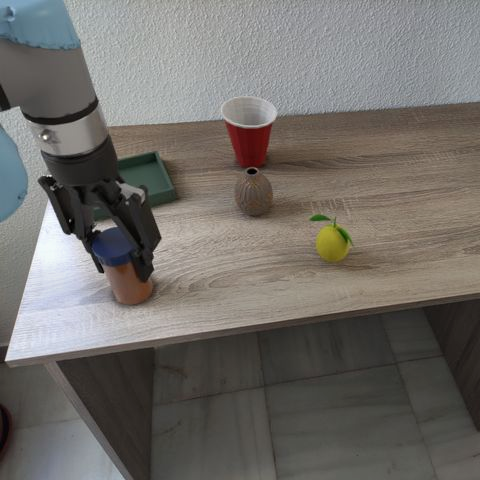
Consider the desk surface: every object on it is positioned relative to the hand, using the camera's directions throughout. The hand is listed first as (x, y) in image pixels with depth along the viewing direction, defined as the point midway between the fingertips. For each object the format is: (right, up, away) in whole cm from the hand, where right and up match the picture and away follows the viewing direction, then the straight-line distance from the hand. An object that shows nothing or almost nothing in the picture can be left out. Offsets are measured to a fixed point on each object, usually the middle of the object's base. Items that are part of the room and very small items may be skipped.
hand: (126, 271), depth 70 cm
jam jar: (0, -3, +3) cm, 5 cm away
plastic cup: (+15, +21, +28) cm, 38 cm away
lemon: (+31, +1, +10) cm, 32 cm away
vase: (+17, +10, +18) cm, 26 cm away
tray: (-8, +14, +20) cm, 26 cm away
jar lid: (0, +4, -4) cm, 6 cm away
